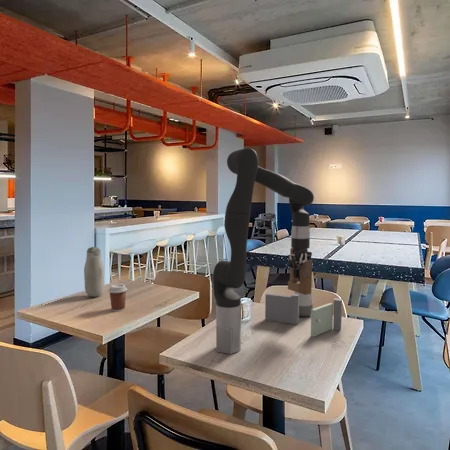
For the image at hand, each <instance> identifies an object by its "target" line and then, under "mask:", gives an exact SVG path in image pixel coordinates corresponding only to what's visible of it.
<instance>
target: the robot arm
mask: <svg viewBox="0 0 450 450" xmlns="http://www.w3.org/2000/svg"><path fill="white" fill-rule="evenodd" d="M258 156H259V155H258V154H257V151H256V150H254V149H252V148H251V147H250V148H249V147H246V148H241V149H237V150H234V151H232V152H231V153H230V154H229V155H228V156H227V159H226V165H227V168H228V169H229V171H230V172H231V173H233V174H235V175H236V182H235V187H234V189H233V192H232V193H231V195H230V198H229V199H228V202H227V205H226V208H225V214H224V223H223V226H224V227H223V228H224V231H225V234H226V236H227V239H228V242H229V246H230V261H228V260H220V261H218V262H217V263H216V264H215V266H214V269H213V274H212V275H213V277H212V280H213V281H212V283H213V295H214V299H215V301H216V303H215V318H216V320H215V321H216V322H215V323H216V324H215V327H216V328H215V330H216V331H215V334H216V336H215V341H216V342H215V344H216V346H215V349H216V352H217V353H222V354H227V355H233V354H235V353H238V352H240V350H241V349H242V348H241V347H242V346H241V343H242V342H241V340H242V338H241V337H242V336H241V334H242V333H241V331H242V330H241V329H242V321H241V320H242V316H241V314H242V299H241V296H240V295H239V293H237V292H236V291H235V290H234V289H240V288H241V287H242V286H243V284H244V283H245V280H246V273H247V247H248V246H247V245H248V236H249V227H250V221H251V220H250V219H251V211H252V201H253V193H254V187H255V182H256V183H258V184H260V185H262V186H264V187H266V188H268V189H269V190H271V191H273V192H274V193H276V194H278V195H280V196H281V197H284V198H288V203H289V209H290V212H291V216H292V217H291V219H292V222H291V232H290V233H291V236H290V240H291V242H290V248H293V252H292V254H291V255H290V254H288V255H287V259H288V264H289V269H290V268H293V269H294V274H293V276H294V278H298V279H300V276H299V268H300V267H301V266H302V265H303V264H304V262H305V261H309V260H312V255H313V252H311V251H309V250H308V249H309V248H310V247H311V246H310V242H311V241H310V240H311V239H310V238H311V236H310V234H311V229H310V213H309V212H307V211H306V210H305V209H304V207H306V206H307V207H308V206H310V205H312V204H313V203H314V198H315V197H314V193H313V191H312V190H311V189H309V188H308V187H306V186H304V185H302V184H298V183H295V182H294V181H292V180H290V179H289V178H288V177H286V176H284V175H282V174H280V173H277V172H275V171H272V170H269V169H266V168H263V167H261V166H259V157H258ZM296 261H298V262H296ZM292 264H293V265H292ZM296 264H297V266H296Z"/></svg>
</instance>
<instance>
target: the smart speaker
mask: <svg viewBox="0 0 450 450" xmlns="http://www.w3.org/2000/svg"><path fill="white" fill-rule="evenodd" d="M312 289H313V288H311V294H307V295H304V294H301V293H299V292H295V291H294V294H299V318H300V317H301V318H302V317H303V318H305V317H311V309H314V308H313V306H314V304H313V293H312Z"/></svg>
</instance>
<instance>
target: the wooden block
mask: <svg viewBox="0 0 450 450" xmlns="http://www.w3.org/2000/svg"><path fill="white" fill-rule="evenodd" d="M289 250H290V252H289V253H290V254H289V255H291V254H292V252H293V248H292V247H290V249H289ZM296 262H298V261H296ZM292 265H293V264H292ZM296 266H297V264H296ZM312 273H313V259H311V260H309V261H308V260H307V261H305V262H304V264H303V265H302V266H301V265H300V266H299V278H294V276H293V274H294V269H293V268H290V267H289V280H288V281H287V289H288V290H290V291H293V292H294V293H295V292H299V293H301V294H304V295H307V294H311V289H312V281H313V280H312V277H313V274H312Z"/></svg>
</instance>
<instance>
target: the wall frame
mask: <svg viewBox="0 0 450 450" xmlns="http://www.w3.org/2000/svg"><path fill="white" fill-rule="evenodd" d="M264 296H265V298H264V299H265V303H264V304H265V311H264V313H265V314H264V317H265V318H264V320H265V321H270V322H277V323H285V324H290V325H299V323H300V316H299V294H295V293H292V294H291V295H286V294H285V295H284V294H276V293H265V295H264ZM342 312H343V299H342V298H338V297H336V298H335V297H334V299H333V325H332V330H334V331H341V329H342V314H343V313H342Z"/></svg>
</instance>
